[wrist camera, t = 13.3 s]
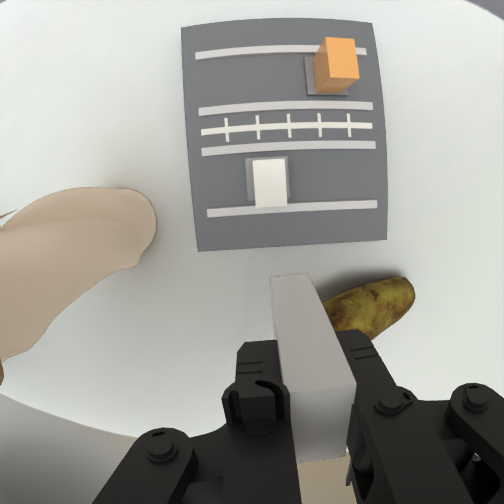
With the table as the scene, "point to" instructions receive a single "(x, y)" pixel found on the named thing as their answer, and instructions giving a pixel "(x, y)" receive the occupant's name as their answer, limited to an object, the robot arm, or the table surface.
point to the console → (282, 134)
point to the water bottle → (64, 255)
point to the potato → (371, 306)
